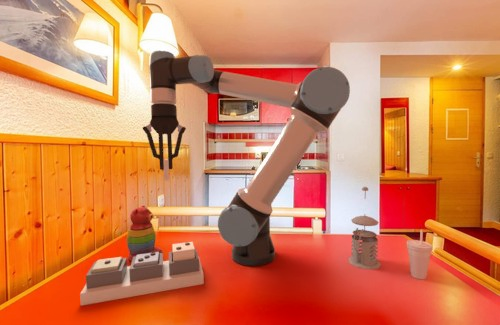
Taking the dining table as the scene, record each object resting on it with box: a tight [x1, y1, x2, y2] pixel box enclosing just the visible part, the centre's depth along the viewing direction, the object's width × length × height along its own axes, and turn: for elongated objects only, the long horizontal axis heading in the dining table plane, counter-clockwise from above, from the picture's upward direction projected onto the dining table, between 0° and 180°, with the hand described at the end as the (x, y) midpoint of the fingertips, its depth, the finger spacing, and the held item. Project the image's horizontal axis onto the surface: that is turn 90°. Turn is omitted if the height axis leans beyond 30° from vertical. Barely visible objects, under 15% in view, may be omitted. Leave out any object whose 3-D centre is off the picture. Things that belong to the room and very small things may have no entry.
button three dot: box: [134, 252, 159, 267], centre depth 73 cm, size 6×6×4 cm
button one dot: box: [92, 256, 123, 273], centre depth 69 cm, size 6×6×4 cm
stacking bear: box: [126, 205, 163, 263], centre depth 90 cm, size 11×10×18 cm
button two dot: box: [172, 241, 195, 262], centre depth 75 cm, size 6×6×4 cm
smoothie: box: [406, 228, 434, 280], centre depth 74 cm, size 6×6×14 cm
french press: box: [348, 186, 382, 270], centre depth 82 cm, size 10×12×25 cm
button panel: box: [79, 247, 205, 306], centre depth 73 cm, size 30×12×6 cm, turn 108°
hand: (166, 179), depth 81 cm, fingers closed
